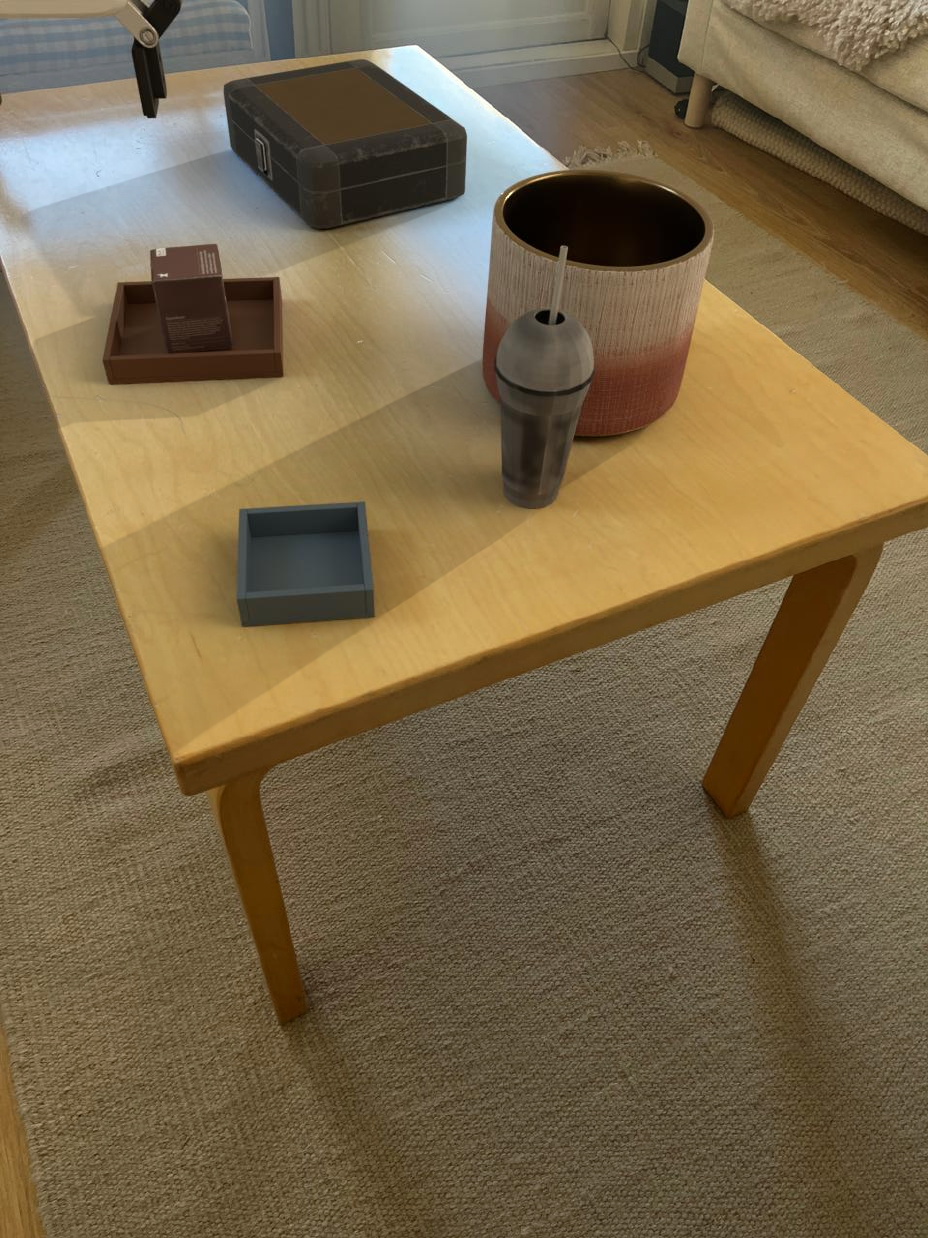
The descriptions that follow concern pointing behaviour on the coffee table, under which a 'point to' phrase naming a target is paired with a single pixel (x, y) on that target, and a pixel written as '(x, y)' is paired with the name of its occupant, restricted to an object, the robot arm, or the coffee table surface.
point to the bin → (304, 564)
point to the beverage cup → (541, 397)
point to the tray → (144, 358)
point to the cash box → (345, 142)
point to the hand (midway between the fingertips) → (73, 110)
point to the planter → (604, 282)
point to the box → (191, 298)
